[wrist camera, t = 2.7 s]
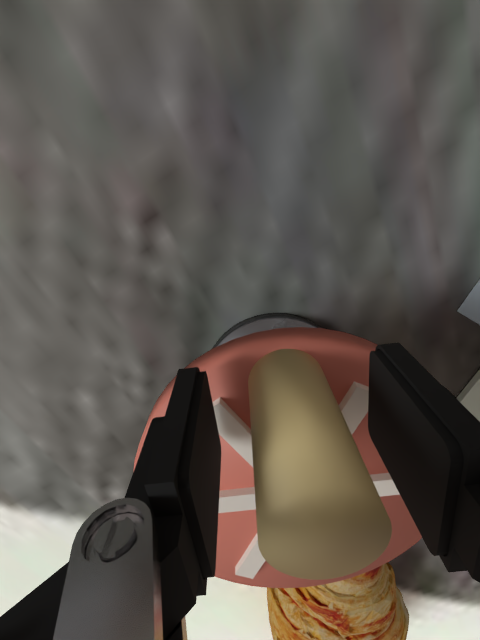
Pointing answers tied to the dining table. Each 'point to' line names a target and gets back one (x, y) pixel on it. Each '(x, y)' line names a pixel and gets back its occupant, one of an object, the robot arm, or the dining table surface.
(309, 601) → the croissant
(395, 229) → the dining table surface
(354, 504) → the handwheel
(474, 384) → the sage mat
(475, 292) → the eye block
